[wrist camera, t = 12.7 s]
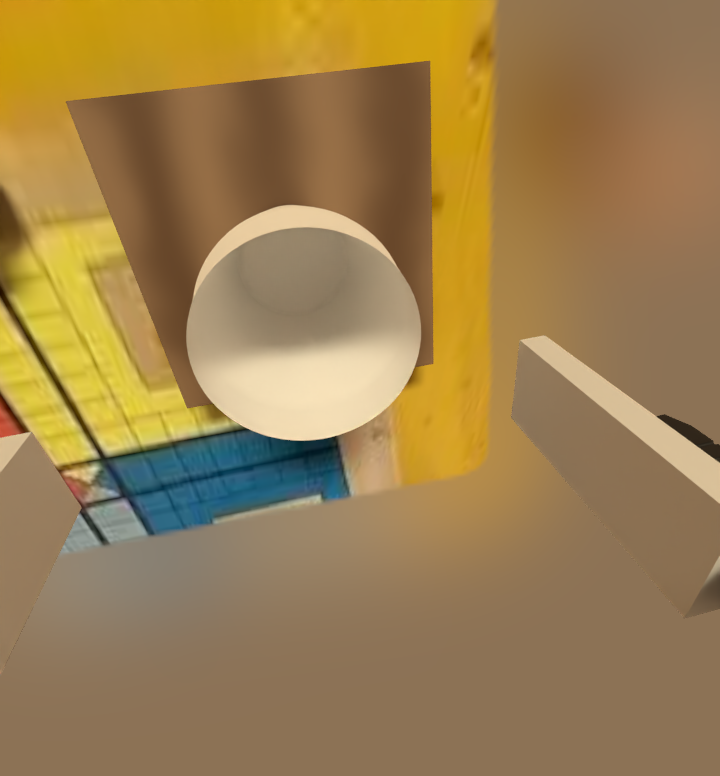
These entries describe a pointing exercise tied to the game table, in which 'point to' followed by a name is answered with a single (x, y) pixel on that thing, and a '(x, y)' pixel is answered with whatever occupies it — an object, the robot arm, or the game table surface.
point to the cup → (302, 325)
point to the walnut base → (262, 176)
